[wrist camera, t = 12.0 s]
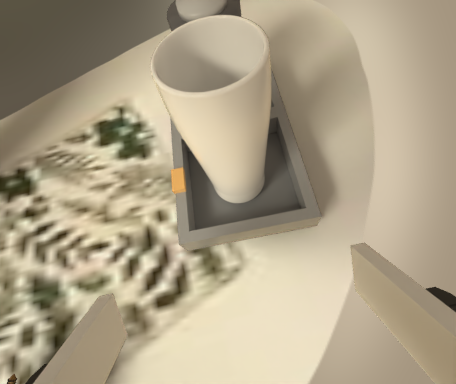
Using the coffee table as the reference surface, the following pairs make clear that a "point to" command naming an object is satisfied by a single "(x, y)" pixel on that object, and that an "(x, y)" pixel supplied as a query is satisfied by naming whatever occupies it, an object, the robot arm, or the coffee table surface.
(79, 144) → the coffee table surface
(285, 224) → the divided desk organizer
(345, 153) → the coffee table surface
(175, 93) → the drinking glass
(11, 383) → the game die
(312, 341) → the coffee table surface
